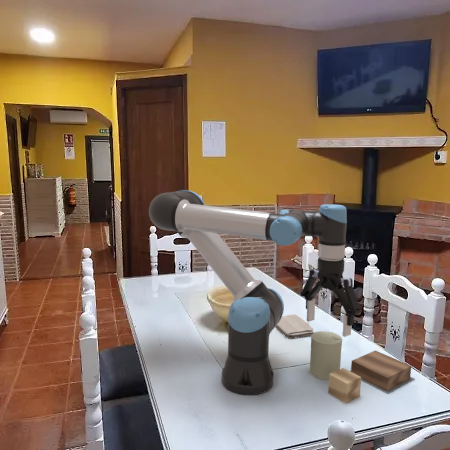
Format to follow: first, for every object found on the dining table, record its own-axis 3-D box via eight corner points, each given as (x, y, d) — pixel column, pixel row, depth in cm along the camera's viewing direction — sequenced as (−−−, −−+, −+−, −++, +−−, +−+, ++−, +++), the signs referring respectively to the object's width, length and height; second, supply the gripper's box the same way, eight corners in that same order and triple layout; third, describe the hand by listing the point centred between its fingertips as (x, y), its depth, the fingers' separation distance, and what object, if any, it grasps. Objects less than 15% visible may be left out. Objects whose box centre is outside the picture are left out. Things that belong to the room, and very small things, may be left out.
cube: (345, 404, 108) (347, 383, 107) (327, 394, 112) (329, 374, 111) (359, 397, 111) (361, 377, 110) (341, 387, 116) (343, 367, 115)
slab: (386, 391, 113) (387, 378, 113) (350, 373, 123) (351, 360, 122) (410, 378, 120) (411, 365, 120) (374, 362, 130) (375, 350, 129)
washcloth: (288, 341, 146) (288, 333, 146) (267, 322, 163) (267, 315, 163) (316, 337, 150) (317, 329, 150) (293, 319, 167) (294, 312, 166)
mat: (387, 395, 112) (387, 394, 112) (345, 373, 123) (345, 372, 123) (415, 380, 120) (415, 378, 120) (373, 361, 131) (373, 360, 131)
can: (341, 383, 118) (343, 344, 116) (309, 379, 120) (310, 340, 118) (339, 367, 127) (341, 331, 125) (309, 364, 129) (310, 328, 127)
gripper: (376, 264, 110) (372, 339, 113) (307, 248, 130) (305, 312, 133) (359, 269, 106) (355, 346, 109) (291, 251, 126) (288, 317, 129)
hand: (327, 327), depth 121 cm, fingers open, 13 cm apart
